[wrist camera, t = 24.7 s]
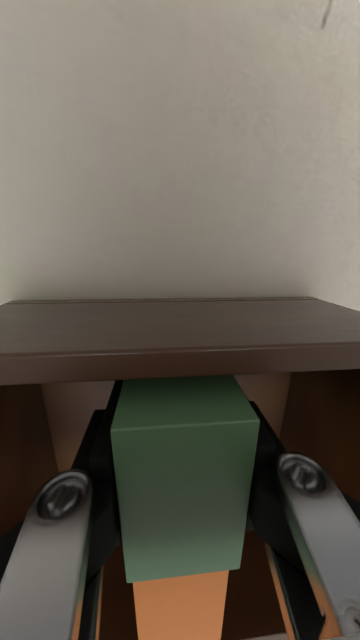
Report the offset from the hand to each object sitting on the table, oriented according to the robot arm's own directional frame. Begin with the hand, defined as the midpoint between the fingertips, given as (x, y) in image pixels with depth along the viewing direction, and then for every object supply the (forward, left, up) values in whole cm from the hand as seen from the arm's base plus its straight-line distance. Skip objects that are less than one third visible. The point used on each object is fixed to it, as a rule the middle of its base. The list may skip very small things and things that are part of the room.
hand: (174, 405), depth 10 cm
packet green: (0, 0, -1) cm, 1 cm away
